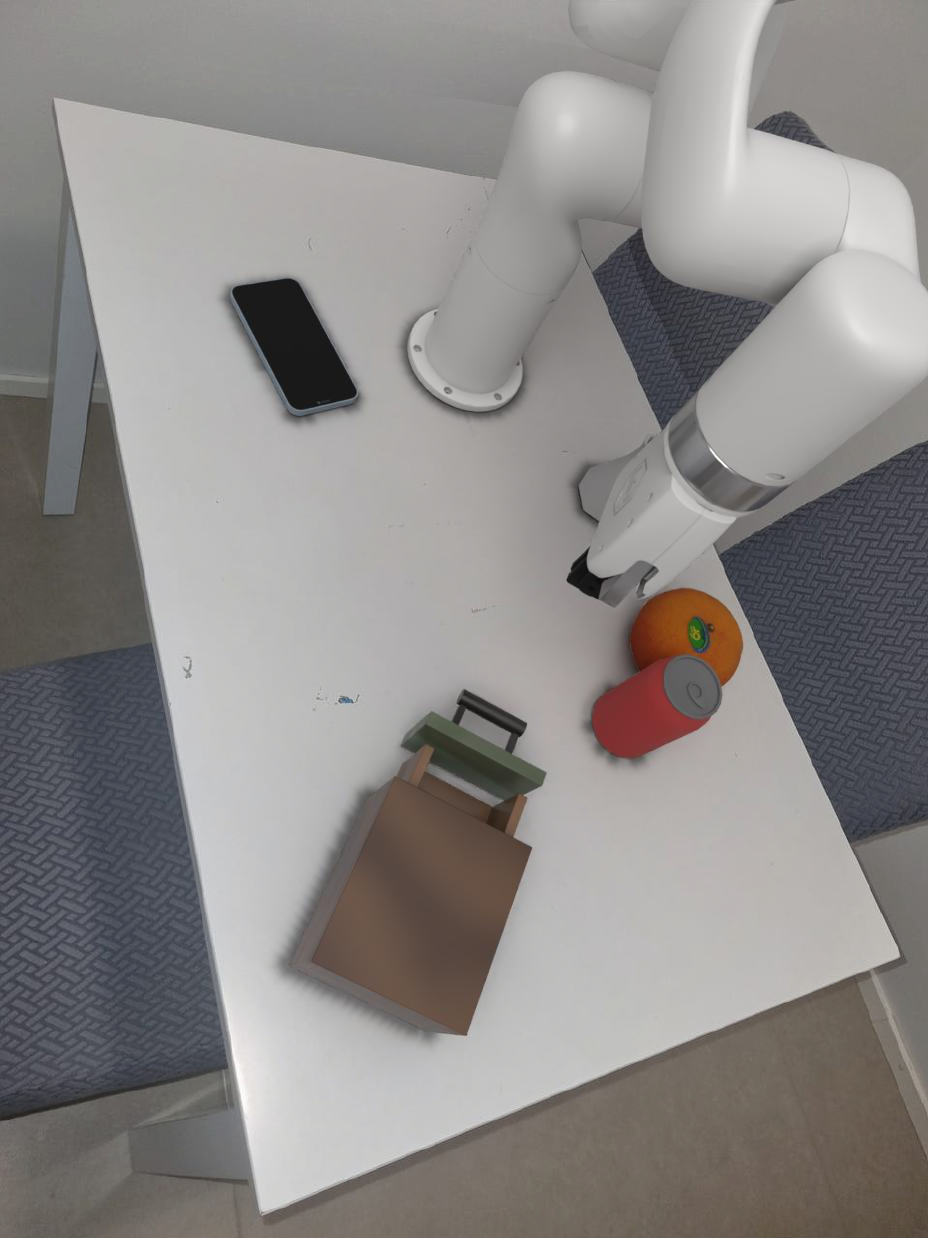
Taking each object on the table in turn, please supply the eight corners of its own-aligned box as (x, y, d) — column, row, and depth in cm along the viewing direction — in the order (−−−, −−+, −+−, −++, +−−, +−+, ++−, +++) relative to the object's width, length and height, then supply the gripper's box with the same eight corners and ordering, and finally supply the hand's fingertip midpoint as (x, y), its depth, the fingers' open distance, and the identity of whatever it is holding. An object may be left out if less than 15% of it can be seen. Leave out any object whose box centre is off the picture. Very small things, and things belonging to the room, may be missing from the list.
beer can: (610, 771, 79) (685, 737, 68) (576, 706, 80) (645, 663, 70) (662, 744, 82) (741, 708, 71) (629, 682, 83) (702, 637, 73)
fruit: (685, 601, 89) (732, 568, 82) (723, 695, 86) (775, 669, 79) (599, 617, 85) (642, 584, 78) (637, 718, 82) (685, 692, 75)
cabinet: (365, 799, 70) (395, 775, 62) (489, 862, 71) (532, 847, 64) (287, 966, 63) (310, 961, 56) (426, 1032, 65) (466, 1036, 57)
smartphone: (296, 275, 87) (362, 397, 83) (295, 282, 87) (360, 402, 84) (226, 286, 83) (292, 413, 80) (225, 292, 84) (290, 419, 81)
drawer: (425, 690, 74) (452, 664, 68) (529, 746, 76) (564, 725, 70) (341, 874, 66) (362, 862, 60) (459, 933, 67) (491, 927, 62)
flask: (634, 539, 90) (689, 490, 81) (572, 515, 88) (621, 463, 80) (641, 483, 93) (694, 431, 85) (581, 459, 92) (629, 403, 83)
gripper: (706, 333, 53) (572, 488, 69) (645, 509, 46) (510, 638, 61) (806, 396, 54) (651, 534, 70) (762, 577, 47) (600, 687, 62)
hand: (585, 583), depth 66 cm, fingers closed
